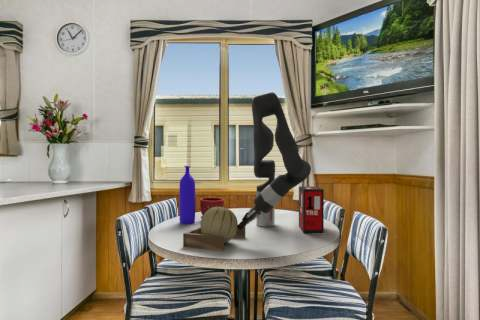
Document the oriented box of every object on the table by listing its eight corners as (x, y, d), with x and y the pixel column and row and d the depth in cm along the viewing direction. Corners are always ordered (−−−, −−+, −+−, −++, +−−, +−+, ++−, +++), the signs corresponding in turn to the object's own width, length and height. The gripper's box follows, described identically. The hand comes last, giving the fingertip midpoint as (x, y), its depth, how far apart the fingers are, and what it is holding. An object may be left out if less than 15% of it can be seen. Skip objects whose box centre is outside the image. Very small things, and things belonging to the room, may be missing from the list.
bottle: (180, 221, 179) (180, 165, 179) (195, 221, 179) (195, 165, 179) (178, 224, 170) (178, 166, 170) (194, 224, 171) (194, 166, 171)
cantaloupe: (193, 245, 129) (193, 207, 129) (212, 237, 142) (211, 202, 142) (227, 249, 123) (227, 209, 122) (243, 240, 136) (243, 204, 136)
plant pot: (197, 222, 176) (197, 199, 176) (203, 218, 189) (203, 197, 189) (221, 223, 174) (221, 200, 174) (226, 218, 187) (226, 197, 187)
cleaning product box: (298, 226, 167) (298, 186, 167) (316, 226, 167) (316, 186, 166) (303, 233, 150) (303, 189, 150) (323, 233, 150) (323, 189, 150)
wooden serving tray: (211, 233, 149) (211, 222, 149) (245, 237, 143) (245, 225, 143) (183, 246, 127) (183, 233, 127) (222, 251, 121) (222, 237, 121)
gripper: (267, 189, 134) (239, 218, 139) (256, 192, 122) (226, 224, 126) (279, 203, 132) (251, 231, 137) (270, 208, 120) (239, 239, 124)
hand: (239, 228), depth 131 cm, fingers closed
